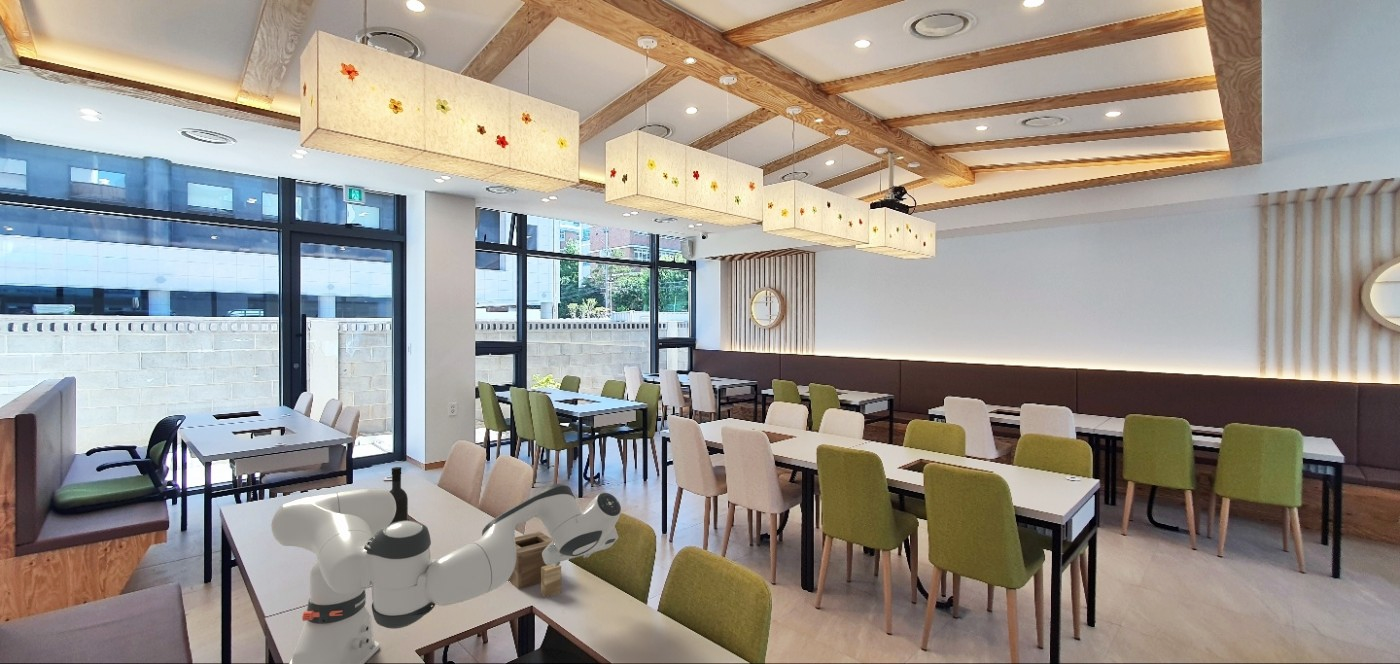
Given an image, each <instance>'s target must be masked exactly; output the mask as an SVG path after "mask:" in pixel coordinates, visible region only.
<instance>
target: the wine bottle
mask: <svg viewBox="0 0 1400 664" xmlns="http://www.w3.org/2000/svg"><path fill="white" fill-rule="evenodd" d="M388 491H389V492H390V493H391V494H392V495H393V497H394V499H395V502H396V513H395V516H394V518H393V520H392V522H391V523H394V522H398V521H405V520H409V513H408V511H409V508H408V507H409V497H408V494H407V492H406V491H405V489H403V488H402V466H401V467H400V466H394V467H392V468H391V489H390V490H388ZM391 523H390V524H391Z"/></svg>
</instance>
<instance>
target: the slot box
mask: <svg viewBox="0 0 1400 664" xmlns="http://www.w3.org/2000/svg"><path fill="white" fill-rule="evenodd" d="M552 541H553V540H552V539H551V537H549V536H547V535H546V534H544V533H543V532H541V531H536V532H533V533H532V532H531V533H528V534H527V533H526V534H523V535H520V536H515V544H516V550H517V557H516V564H515V568H514V571H513V573H512V575H511V576H510V578H509V579H508V580H507V582H509V581H510V582H511V583H512V584H511V583H510V582H509V583H510V584H511V585H513V586H514V587H515V588H516V589H517V590H521V589H524V588H528V587H531V586H534V585H537V584H541V567H543V566H547V565H546V564H545V563H544V560H543V557H542V552H543V551H544V549H545V548H546V547H547V546H548V545H549V544H550V543H551V542H552Z"/></svg>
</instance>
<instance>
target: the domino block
mask: <svg viewBox="0 0 1400 664" xmlns="http://www.w3.org/2000/svg"><path fill="white" fill-rule="evenodd" d="M561 593H562V565H560V564H559V565H558V566H554V567H553V564H550V565H547V566H543V567H541V583H540V595H542V596H543V597H544V598H548V597H551V596H554V595H558V594H561Z"/></svg>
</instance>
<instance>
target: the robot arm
mask: <svg viewBox="0 0 1400 664" xmlns="http://www.w3.org/2000/svg"><path fill="white" fill-rule="evenodd" d="M389 491H390V490H388V489H387V488H373V487H369V488H367V487H365V488H360V489H359V488H357V489H352V490H345V491H339V492H331V493H326V494H318V495H313V496H305V497H301V498H299V499H295V500H292V501H289V502H285V503H283V504H281V505H280V506H279V507H278V509H276V511H275V512H274V514H273V516H272V519H271V525H270V527H271V529H270V530H271V533H272V536H273V537H274V539H275V540H276V542H277V543H279V544H280V545H281V546H284V547H293V548H294V547H295V548H299V549H300V548H301V549H304V550H306V551H307V550H308V551H309V552H312V553H314V554H315V556H316V559H317V560H315V562H314V563H313V565H312V566H311V569H310V571H309V573H310V574H309V579H310V580H309V583H310V585H309V586H310V588H309V589H310V592H309V593H310V597H309V599H308V604H307V606H306V610H305V611H303V613H302V617H301V619H302V621H303V622H304V624H303V627H302V629H301V632H300V635H299V636H298V639H297V641H296V642H297V643H296V644H295V647H294V650H293V653H292V656H291V659H290V661H289V663H288V664H365V663H367V662H368V660H369V659H371V658H372V656H374V654H375V653H376V652H378V651H379V650H380V649H381V645H380V642H379V641H376V640H374V628H373V627H374V626H373V619H374V621H375V623H376V624H377V625H378V626H380V627H383V628H387V629H394V630H395V629H401V628H406V627H408V626H410V625H412V624H414V623H416V622H418V621H419V620H420V619H421V620H422V618H423V617H424V616H425V615H427V614H429V613H430V612H431V611H432V610H433V609H434V608H435V607H436V605H437V606H439V607H444V606H445V607H447V606H452V605H457V604H459V603H463V602H467V601H469V600H473V599H476V598H478V597H481V596H483V595H486V594H487V593H490V592H492V591H494V590H496V589H498V588H499V587H502V585H504V584H506V583H507V582H508V579H509V578H510V576H511V575H512V573H513V571H514V568H515V564H516V557H517V550H516V544H515V537H516V535H515V534H516V532H515V531H516V528H518V527H519V526H521V525H523V524H525V523H527V522H528V521H531V519H533V518H537V519H539V520H540V521H541V522H542V523H543V526H544V528H545V529H546V531H547V533H548V534H549V536H550V538H551V539H552V540H553V541H552V542H551V543H550V544H549V545H548V546H547V547H546V548H545V549H544V551H543V552H542V557H543V560H544V563H545V564H546V565H550V564H553V567H554V566H558V565H560V564H561V562H563V561H567V560H571V559H574V558H578V557H583V559H585V558H586V559H587V558H589V557H590V556H591V555H593V554H595V553H596V552H600V551H603V550H607V549H609V548H611V547H612V546H613V544H615V542H616V541H617V540H618V539H619V534H618V531H617V529H616V524H617V522H618V521H619V519H620V516H621V513H622V508H621V504H620V501H619V500H618V499H617V498H616V497H615V496H614V495H612V494H611V493H608V492H599V494H597V495H596V496H595V497H594V498H592V500H590V502H589V504H588V505H587V506H586V507H585V509H584V510H582V508H581V506H580V505H579V503H578V502H577V499H576V497H575V494H574V493H573V491H572V489H571V487H570V486H568V485H565V484H562V483H553V484H551V485H549V486H547V487H546V488H543V490H541V491H539V492H538V493H537V494H535V495H533V496H532V497H530V498H528V499H526V500H525V501H522V502H521V503H519V504H517V505H515V506H514V507H511V508H510V509H507V510H506V511H504V512H503V513H501V514H500V515H498V516H496V517H495V518H493V519H492V520H490V522H488V523H487V524H486V525H485V526H484V528H483V529H482V533H481V537H480V538H478V539H477V540H476V541H474V542H471V543H469V544H466V545H464V546H461V547H458V548H457V549H455V550H453V551H450V552H447V554H444V555H443V556H441V557H440V558H439V557H438V558H431V548H430V547H431V544H432V538H431V535H430V531H429V528H428V526H427V525H425V524H424V523H421V522H420V521H417V520H411V519H408V520H405V521H398V522H394V523H391V522H392V520H393V518H394V516H395V513H396V502H395V499H394V497H393V495H392V494H391V493H390V492H389ZM390 523H391V524H390ZM368 588H371V597H372V603H371V611H372V613H370V612H369V611H368V610H367V608H366V606H365V605H366V603H367V602H366V599H367V593H366V590H367V589H368ZM372 615H373V616H372Z"/></svg>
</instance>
